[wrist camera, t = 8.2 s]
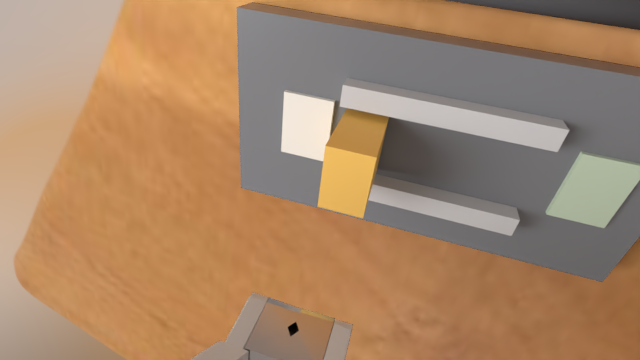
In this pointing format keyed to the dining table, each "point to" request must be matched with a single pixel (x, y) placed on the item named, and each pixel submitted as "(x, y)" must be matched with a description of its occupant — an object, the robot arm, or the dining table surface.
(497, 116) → the grey slider track base
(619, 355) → the dining table surface
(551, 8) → the dressed cords
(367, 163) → the lever
